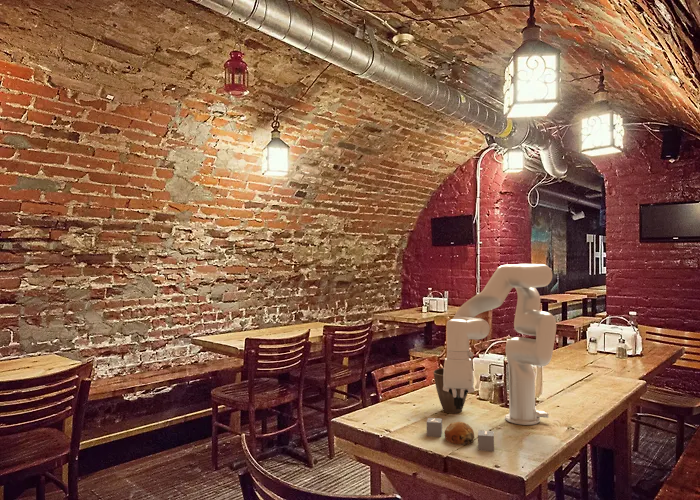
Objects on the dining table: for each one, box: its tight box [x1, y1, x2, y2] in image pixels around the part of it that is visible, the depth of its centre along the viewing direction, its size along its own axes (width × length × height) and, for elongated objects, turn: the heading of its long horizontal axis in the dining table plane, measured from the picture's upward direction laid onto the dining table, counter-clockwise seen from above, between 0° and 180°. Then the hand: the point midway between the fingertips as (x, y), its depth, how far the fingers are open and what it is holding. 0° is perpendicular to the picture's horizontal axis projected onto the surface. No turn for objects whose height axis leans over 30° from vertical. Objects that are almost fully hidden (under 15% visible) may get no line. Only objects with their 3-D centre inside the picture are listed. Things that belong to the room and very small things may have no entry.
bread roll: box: [444, 421, 475, 446], centre depth 183 cm, size 10×10×8 cm
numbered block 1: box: [477, 429, 495, 452], centre depth 175 cm, size 5×5×5 cm
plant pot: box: [433, 367, 468, 414], centre depth 217 cm, size 15×15×16 cm
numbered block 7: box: [426, 417, 443, 438], centre depth 189 cm, size 5×5×5 cm
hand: (458, 408), depth 183 cm, fingers closed
